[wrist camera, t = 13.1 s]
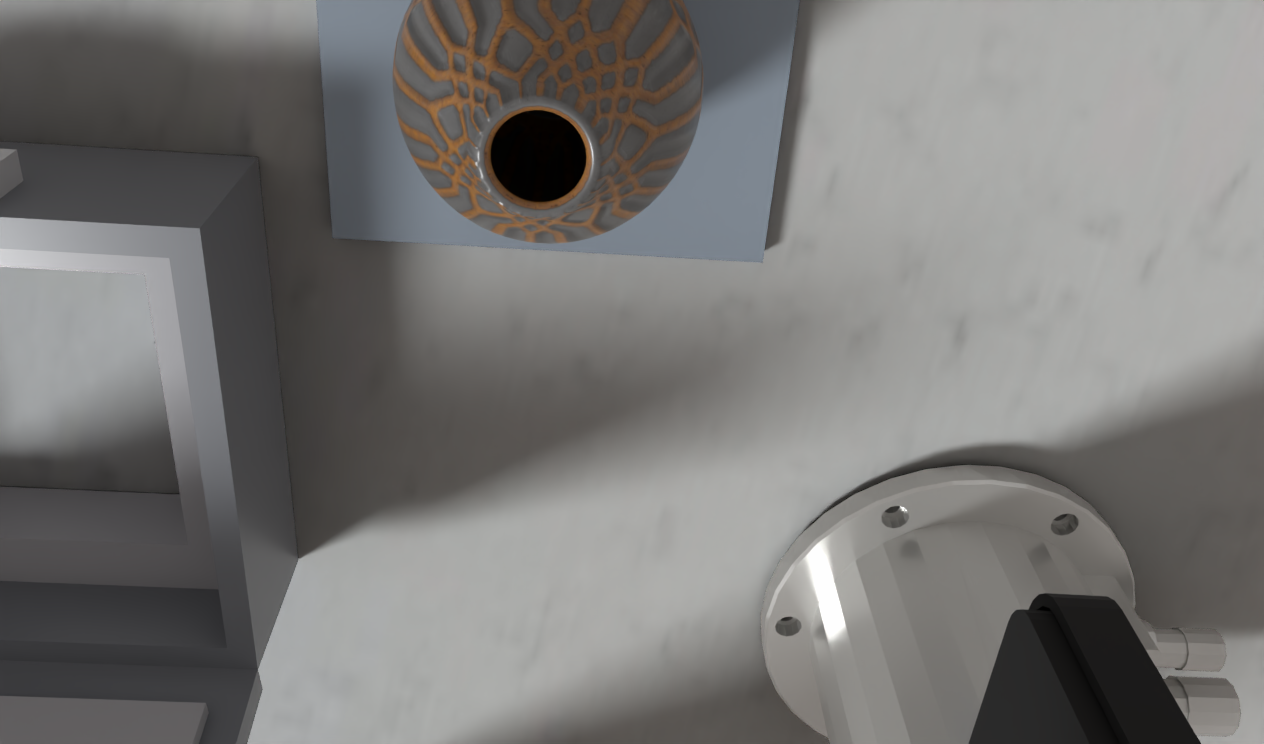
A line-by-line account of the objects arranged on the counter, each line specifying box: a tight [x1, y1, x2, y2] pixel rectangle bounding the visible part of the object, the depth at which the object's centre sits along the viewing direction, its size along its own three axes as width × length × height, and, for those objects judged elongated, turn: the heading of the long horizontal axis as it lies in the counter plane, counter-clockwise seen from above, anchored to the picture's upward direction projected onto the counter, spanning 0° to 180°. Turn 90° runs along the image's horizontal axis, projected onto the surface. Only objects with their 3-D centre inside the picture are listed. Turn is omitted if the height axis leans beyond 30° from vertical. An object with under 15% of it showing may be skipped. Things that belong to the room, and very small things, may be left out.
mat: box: [316, 0, 800, 263], centre depth 28 cm, size 12×12×1 cm
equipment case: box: [0, 141, 298, 670], centre depth 31 cm, size 14×15×5 cm
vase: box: [393, 0, 704, 244], centre depth 24 cm, size 7×7×9 cm
